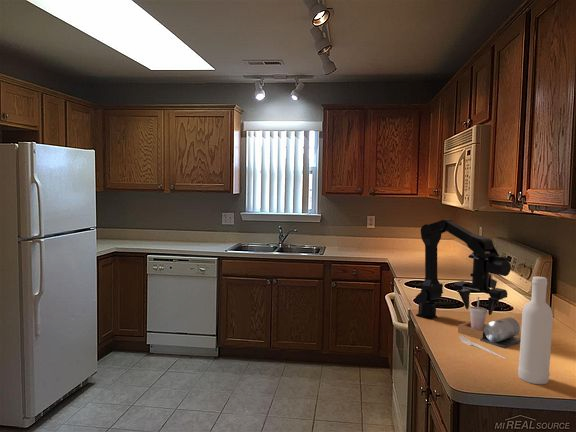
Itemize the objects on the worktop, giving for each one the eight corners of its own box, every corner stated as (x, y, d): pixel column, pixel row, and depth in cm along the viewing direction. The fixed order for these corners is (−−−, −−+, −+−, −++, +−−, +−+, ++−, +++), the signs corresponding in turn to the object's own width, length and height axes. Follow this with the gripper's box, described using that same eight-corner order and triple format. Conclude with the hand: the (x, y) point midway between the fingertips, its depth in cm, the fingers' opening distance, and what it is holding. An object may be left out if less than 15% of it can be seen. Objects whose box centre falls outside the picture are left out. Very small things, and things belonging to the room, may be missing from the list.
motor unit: (455, 333, 173) (456, 313, 173) (474, 327, 181) (475, 308, 181) (504, 348, 158) (506, 326, 158) (522, 341, 166) (524, 320, 166)
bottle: (544, 375, 135) (551, 276, 134) (552, 386, 128) (559, 281, 126) (515, 371, 138) (521, 273, 136) (521, 382, 130) (528, 278, 128)
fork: (503, 362, 147) (503, 356, 147) (457, 340, 165) (457, 335, 165) (510, 360, 149) (510, 355, 148) (463, 339, 167) (464, 334, 167)
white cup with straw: (482, 331, 176) (484, 295, 175) (488, 337, 170) (490, 300, 169) (465, 330, 177) (467, 295, 176) (470, 335, 170) (473, 299, 169)
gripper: (516, 273, 169) (513, 314, 170) (469, 265, 184) (467, 303, 185) (500, 276, 162) (498, 319, 163) (454, 267, 177) (451, 307, 178)
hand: (478, 311), depth 173 cm, fingers open, 9 cm apart
